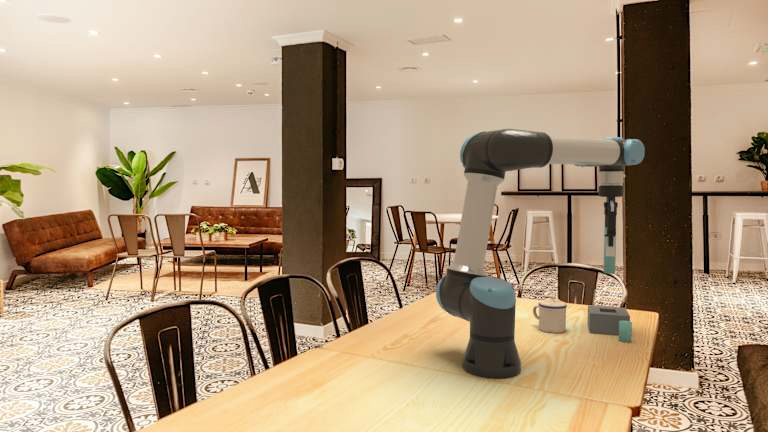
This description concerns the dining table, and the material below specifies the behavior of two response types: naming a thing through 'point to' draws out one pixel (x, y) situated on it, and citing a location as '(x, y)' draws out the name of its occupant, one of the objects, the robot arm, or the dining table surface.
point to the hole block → (606, 319)
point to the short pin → (625, 331)
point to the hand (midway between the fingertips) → (609, 255)
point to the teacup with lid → (551, 315)
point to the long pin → (609, 258)
